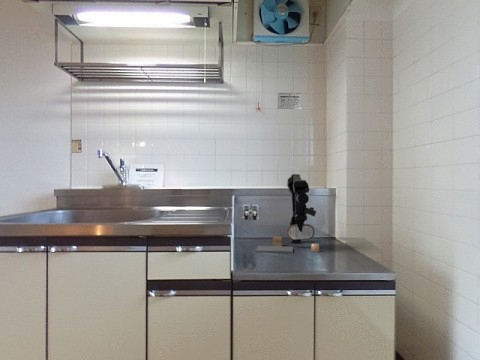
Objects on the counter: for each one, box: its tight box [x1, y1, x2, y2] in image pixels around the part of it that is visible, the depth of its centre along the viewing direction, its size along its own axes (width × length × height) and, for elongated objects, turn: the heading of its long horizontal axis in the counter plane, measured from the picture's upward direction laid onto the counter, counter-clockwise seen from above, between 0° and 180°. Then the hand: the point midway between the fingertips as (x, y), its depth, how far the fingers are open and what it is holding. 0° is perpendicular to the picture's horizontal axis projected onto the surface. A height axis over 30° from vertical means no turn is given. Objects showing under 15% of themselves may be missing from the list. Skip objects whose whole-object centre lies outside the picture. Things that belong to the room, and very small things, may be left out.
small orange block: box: [310, 242, 320, 253], centre depth 172 cm, size 4×4×4 cm
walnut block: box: [272, 236, 283, 246], centre depth 188 cm, size 5×5×5 cm
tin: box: [286, 223, 315, 241], centre depth 182 cm, size 15×3×8 cm, turn 81°
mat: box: [255, 245, 294, 254], centre depth 176 cm, size 12×19×1 cm, turn 82°
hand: (300, 231), depth 182 cm, fingers closed on tin, 2 cm apart
